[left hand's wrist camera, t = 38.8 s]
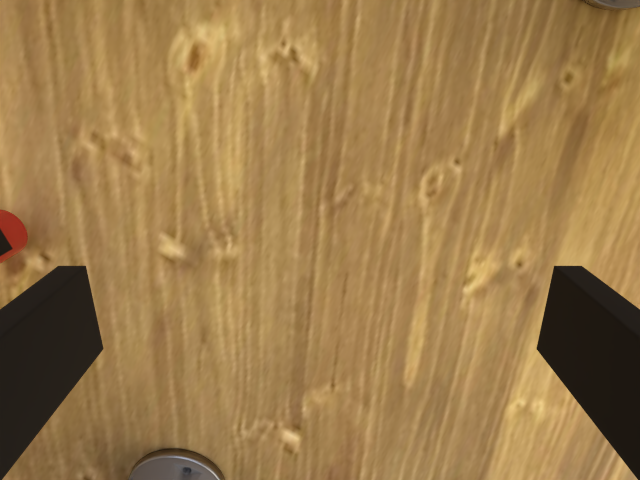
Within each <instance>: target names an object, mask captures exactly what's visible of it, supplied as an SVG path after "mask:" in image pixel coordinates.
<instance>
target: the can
mask: <svg viewBox="0 0 640 480" xmlns="http://www.w3.org/2000/svg"><path fill="white" fill-rule="evenodd" d="M0 229H1V230H2V232H3V234H4V235H5V237H6V238H7V240H8V242H9V243H10V245H11V246H12V248H13V249H12V250H10V251H8V252H7V253H5V254H3V255H2V256H0V263H2V262H3V261H5V260H7V259H8V258H10V257H11V256H13V255H15V254H16V253H18V252H20V251H21V250H22V249H23V248H24V247H25V245H26V243H27V237H28V236H27V231H26V228H25V226H24V225H23V223H22V222H21V221H20V220H19V219H18V218H17V217H16V216H15V215H13V214H12V213H10V212H7V211H5V210H0Z"/></svg>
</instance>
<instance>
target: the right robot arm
mask: <svg viewBox="0 0 640 480" xmlns="http://www.w3.org/2000/svg"><path fill="white" fill-rule="evenodd" d="M12 249H13V248H12V246H11V245H10V243H9V242H8V240H7V238H6V237H5V235H4V234H3V232H2V230H1V229H0V256H2V255H3V254H5V253H7V252H8V251H10V250H12ZM128 480H225V479H224V476H223V474H222V473H221V471H220V470H219V469H218V467H217V466H216V465H215V464H214V463H212V462H211V461H210V460H208V459H207V458H205V457H203V456H201V455H199V454H197V453H194V452H190V451H186V450H180V449H166V450H160V451H156V452H153V453H150V454H148V455H146V456H145V457H143V458H142V459H141V460H140V461H138V463H137V464H136V465H135V467H134V468H133V470H132V472H131V475H130V477H129V479H128Z"/></svg>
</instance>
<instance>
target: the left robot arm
mask: <svg viewBox="0 0 640 480" xmlns="http://www.w3.org/2000/svg"><path fill="white" fill-rule="evenodd" d="M583 1H584V2H586V3H588V4H590V5H592V6H594V7H597V8H601V9H607V10H624V9H630V8H635V7H639V6H640V0H583ZM102 350H103V345H102V340H101V335H100V331H99V326H98V321H97V317H96V312H95V307H94V302H93V298H92V293H91V288H90V284H89V279H88V274H87V270H86V266H58V267H56V268H55V269H54V270H52V271H51V272H50V273H48V274H47V275H46V276H44V277H43V278H42V279H40V280H39V281H38V282H36V283H35V284H34V285H32V286H31V287H30V288H28V289H27V290H26V291H24V292H23V293H22V294H20V295H19V296H18V297H16V298H15V299H14V300H12V301H11V302H10V303H8V304H7V305H6V306H4V307H3V308H2V309H0V480H2V479H3V478H4V476H5V475H6V474H7V472H8V471H9V470H10V469H11V467H12V466H13V465H14V463H15V462H16V461H17V459H18V458H19V457H20V456H21V454H22V453H23V452H24V450H25V449H26V448H27V447H28V445H29V444H30V443H31V441H32V440H33V439H34V438H35V436H36V435H37V434H38V432H39V431H40V430H41V429H42V427H43V426H44V425H45V423H46V422H47V421H48V420H49V418H50V417H51V416H52V414H53V413H54V412H55V411H56V409H57V408H58V407H59V405H60V404H61V403H62V402H63V400H64V399H65V398H66V396H67V395H68V394H69V392H70V391H71V390H72V389H73V387H74V386H75V385H76V383H77V382H78V381H79V380H80V378H81V377H82V376H83V374H84V373H85V372H86V371H87V369H88V368H89V367H90V365H91V364H92V363H93V362H94V360H95V359H96V358H97V356H98V355H99V354H100V353H101V351H102ZM537 350H538V351H539V353H540V354H541V355H542V356H543V358H544V359H545V360H546V362H547V363H548V364H549V365H550V367H551V368H552V369H553V371H554V372H555V373H556V374H557V376H558V377H559V378H560V380H561V381H562V382H563V383H564V385H565V386H566V387H567V389H568V390H569V391H570V392H571V394H572V395H573V396H574V398H575V399H576V400H577V402H578V403H579V404H580V405H581V407H582V408H583V409H584V411H585V412H586V413H587V414H588V416H589V417H590V418H591V420H592V421H593V422H594V423H595V425H596V426H597V427H598V429H599V430H600V431H601V432H602V434H603V435H604V436H605V438H606V439H607V440H608V441H609V443H610V444H611V445H612V447H613V448H614V449H615V450H616V452H617V453H618V454H619V456H620V457H621V458H622V459H623V461H624V462H625V463H626V465H627V466H628V467H629V469H630V470H631V471H632V472H633V474H634V475H635V476H636V478H637V479H638V480H640V309H638V308H637V307H636V306H634V305H633V304H632V303H630V302H629V301H628V300H626V299H625V298H624V297H622V296H621V295H620V294H618V293H617V292H616V291H614V290H613V289H612V288H610V287H609V286H608V285H606V284H605V283H604V282H602V281H601V280H600V279H598V278H597V277H596V276H594V275H593V274H592V273H590V272H589V271H588V270H586V269H585V268H584V267H582V266H554V270H553V274H552V279H551V284H550V288H549V293H548V298H547V302H546V307H545V312H544V317H543V321H542V326H541V331H540V335H539V340H538V345H537Z"/></svg>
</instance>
